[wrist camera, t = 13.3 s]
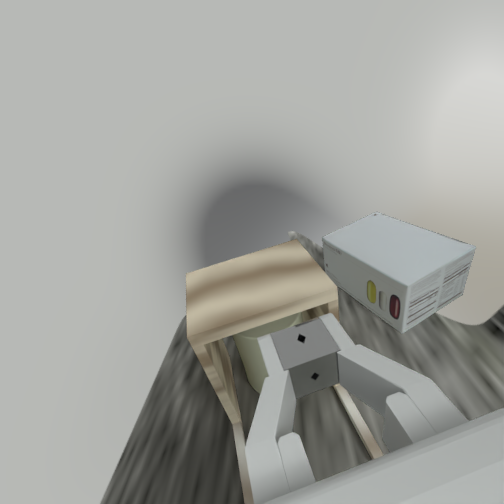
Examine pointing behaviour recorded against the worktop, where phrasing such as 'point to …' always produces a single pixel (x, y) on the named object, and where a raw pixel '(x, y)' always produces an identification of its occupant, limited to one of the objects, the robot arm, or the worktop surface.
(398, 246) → the supplement box
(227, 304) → the tunnel
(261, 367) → the can
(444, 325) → the worktop surface
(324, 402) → the worktop surface
